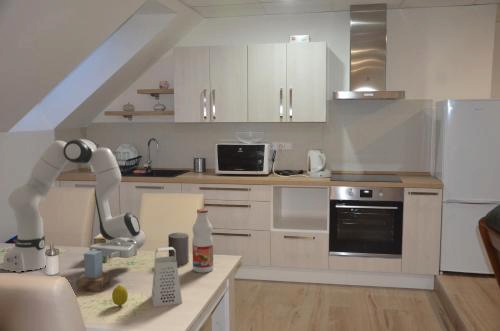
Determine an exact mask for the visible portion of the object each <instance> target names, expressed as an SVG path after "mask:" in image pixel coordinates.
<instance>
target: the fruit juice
mask: <svg viewBox="0 0 500 331" xmlns="http://www.w3.org/2000/svg"><path fill="white" fill-rule="evenodd" d="M208 211H209V210H208V209H207V208H198V209H196V215H197V216H196V220H195V222H194V223H193V225H192V228H191V229H192V234H193V236H192V243H191V244H192V269H193V272H196V273H200V274H201V273H203V274H204V273H209V272H211V271H213V270H214V239H213V236H212V234H213V229H214V228H213V225H212V223H211V222H210V220H209V217H208Z"/></svg>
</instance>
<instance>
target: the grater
mask: <svg viewBox="0 0 500 331" xmlns="http://www.w3.org/2000/svg"><path fill="white" fill-rule="evenodd" d="M169 250H174V251H175V249H174V248H173V247H169V246H168V247H166V246H165V247H157V248H156V249H155V251H154V254H155V255H154V256H155V257H154V262H153V266H154V267H153V275H152V285H151V286H152V287H151V300H152V305H153V307H161V306H162V307H163V306H171V305H180V304H183V299H182V298H183V297H182V292H181V283H180V277H179V270H178V269H179V268H178V266H177V261H176V251H175V257H174V256H171V257H169V256H161V257H157V254H158V252H160V251H161V252H162V251H169ZM161 298H162V299H161ZM164 298H165V299H164ZM163 301H164V302H163ZM166 301H167V302H166Z"/></svg>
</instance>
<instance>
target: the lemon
mask: <svg viewBox="0 0 500 331" xmlns="http://www.w3.org/2000/svg"><path fill="white" fill-rule="evenodd" d="M111 294H112V295H111V299H112V302H113V304H115V305H117V306H118V307H122V306H123V305H124V304H125V303H127V300H128V297H129V293H128V291H127V289H126V287H125V286H123V285H119V284H118V286H116V287H115V288H113V290H112V293H111Z"/></svg>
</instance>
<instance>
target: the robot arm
mask: <svg viewBox="0 0 500 331" xmlns="http://www.w3.org/2000/svg"><path fill="white" fill-rule="evenodd" d="M68 162H71V163H74V164H90V165H91V167H92V169H93V172H94V176H95V179H96V186H95V188H94V199H95V205H96V209H97V210H96V211H97V215H98V221H99V232H100V233H101V235H102V236H103V237H104V238H106V239H107V240H112V241H111V243H97V244H94V243H93V244H90V245H89V249H88V250H89V251H91V250H94V251H102V255H103V256H109V258H111V259H114V258H123V259H129V258H132V257H136V256H137V255H138V250H139V249H141V248H142V247H143V246H144V244H145V243H146V242H147V241H146V240H147V238H146V234H145V233H144V232H145V231H143V230H142V229H141V227H140V222H139V219H138V217H136V215H134V214H133V213H131V212H125V213H122V214H119V215H116V216H112V215H111V209H110V208H111V207H110V203H109V198H110V195H111V194H112V193H113V192H114V191H115V190H117V188H118V187H119V186H120V184H121V182H122V173H121V170H120V166H119V164H118V161H117V159H116V157H115V155H114V153H113V152H112V150H111V149H110V148H108V147H99V146H98V145H97V143H96V142H95V141H93V140H91V139H86V138H80V139H78V138H76V139H71V140H70V141H67V142H66V141H64V140H54V141H53V142H51V144H50V145H49V146H47V148H46V149H45V150H44V151H43V153H42V155H41V156H40V157H39V159H38V160H37V161H36V163H35V164H34V165H33V167H32V169H31V173H30V175H29V178H28V180H26V182H25V183H24V184H23V185H21V186H18V187H16V188H15V189H13V190H12V191H11V192H10V194H9V195H8V199H7V200H8V201H7V202H8V204H9V207H10V208H12V211H13V213H14V217H15V221H16V230H17V237H16V238H15V239H14V240H12V241H13V242H12V243H14V246H13V247H12V248H10V249H9V250H8V251H7V252H5V254H4V255H3V260H2V261H3V262H2V263H0V270H3V269H4V270H3V271H8V270H9V272H13V271H16V272H15V273H22V272H21V271H24V272H28V271H27V270H32V271H36V269H37V270H41V269H44V268H46V267H45V265H46V256H47V255H46V256H45V252H46V253H47V251H46V237H45V235H44V234H45V232H44V219H43V217H42V216H41V213H40V210H39V205H40V204H43V202H45V200H46V198H47V197H48V194H49V192H50V190H51V189H52V187H53V185H54V183H55V181H56V180H57V179H58V177H59V175H60V174H61V172H62V171H63V169H65V166H66V165H67V163H68ZM100 233H99V234H100ZM89 251H88V252H89ZM40 268H41V269H40Z"/></svg>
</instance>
